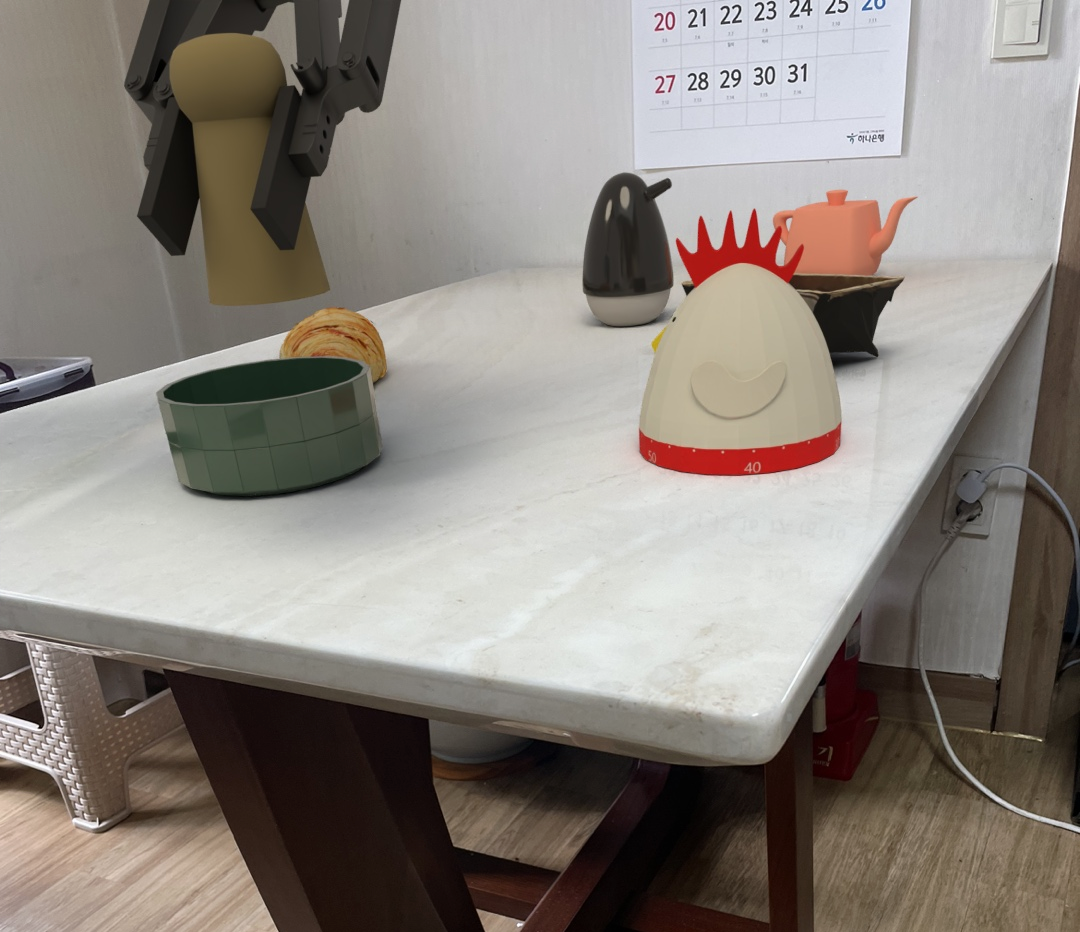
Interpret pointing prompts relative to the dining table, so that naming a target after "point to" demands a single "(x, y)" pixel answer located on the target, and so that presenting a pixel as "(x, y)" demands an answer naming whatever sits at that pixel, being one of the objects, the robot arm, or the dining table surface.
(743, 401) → the kitchen timer
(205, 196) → the cork
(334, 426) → the green tiled bowl
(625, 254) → the pump dispenser
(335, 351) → the croissant
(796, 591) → the dining table surface
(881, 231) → the teapot
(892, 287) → the baking dish
